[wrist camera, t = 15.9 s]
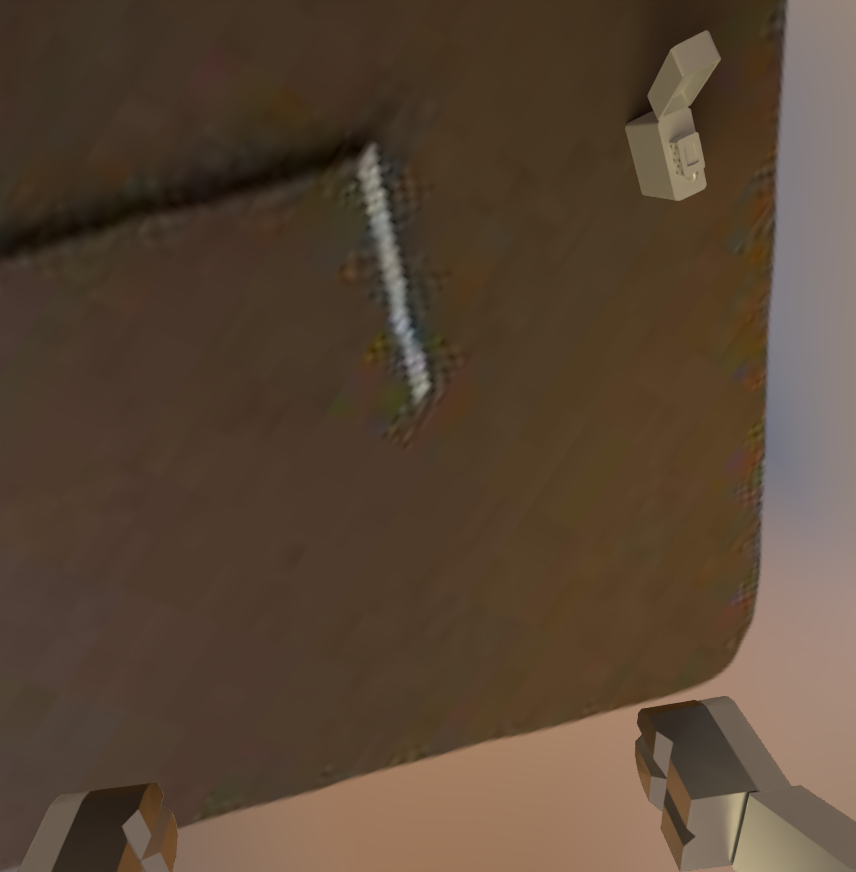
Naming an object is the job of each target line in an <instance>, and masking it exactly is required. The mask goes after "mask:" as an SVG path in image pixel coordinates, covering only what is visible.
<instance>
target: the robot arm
mask: <svg viewBox="0 0 856 872" xmlns="http://www.w3.org/2000/svg"><path fill="white" fill-rule="evenodd" d="M637 724H638V727H639V729H640V731H641V733H642V735H641V736H640V737H639V738H638V739H637V740H636V743H635V758H636V764H637V770H638V774H639V777H640V780H641V783H642V786H643V789H644V791H645V793H646V796H647V798H648V800H649V802H651V803H652V804H653V805H654V806H656V807H657V808H658V809H659V810H661V811H662V812H663V813H662V822H661V830H662V833H663V835H664V837H665V839H666V842H667V844H668V846H669V848H670V851H671V853H672V855H673V857H674V860H675V862H676V864H677V866H678V869H679V871H680V872H682V871H690V870H698V869H705V868H712V867H721V866H728V865H733V869H734V870H735V871H736V872H856V822H855V821H854V820H852V819H851V818H849V817H848V816H846V815H845V814H843V813H842V812H840V811H839V810H837V809H836V808H834V807H833V806H831V805H830V804H828V803H827V802H825V801H824V800H822V799H821V798H819V797H818V796H816V795H815V794H813V793H812V792H810V791H809V790H807V789H806V788H804V787H803V786H791V784H790V783H789V781H788V780H787V778H786V777H785V775H784V774H783V772H782V771H781V769H780V768H779V766H778V765H777V764H776V762H775V761H774V759H773V758H772V756H771V755H770V753H769V752H768V750H767V749H766V748H765V746H764V744H763V743H762V741H761V740H760V738H759V737H758V735H757V734H756V733H755V731H754V730H753V728H752V727H751V725H750V724H749V722H748V721H747V719H746V718H745V716H744V715H743V713H742V712H741V711H740V709H739V708H738V706H737V705H736V703H735V702H734V701H733V700H732V699H731V698H729V697H727V696H722V697H716V698H710V699H706V700H699V701H696V700H692V701H686V702H681V703H674V704H668V705H662V706H656V707H650V708H644V709H641V710H640V712H639V713H638V720H637ZM163 796H164V794H163V792H162V790H161V788H160V786H159V785H158V783H157V782H155V783H147V784H140V785H132V786H124V787H117V788H109V789H101V790H92V791H85V792H78V793H71V794H64V795H59V796H58V797H57V798H56V800H55V801H54V802H53V803H52V804H51V805H50V807H49V808H48V810H47V812H46V814H45V816H44V818H43V820H42V823H41V825H40V827H39V829H38V831H37V833H36V835H35V837H34V839H33V841H32V843H31V845H30V847H29V849H28V851H27V853H26V856H25V858H24V860H23V862H22V864H21V866H20V868H19V870H18V872H172V871H173V867H174V863H175V859H176V853H177V839H178V833H177V826H176V820H175V818H174V816H173V814H172V811H170V810H168V809H166V808H164V807H162V806H161V802H162V799H163Z"/></svg>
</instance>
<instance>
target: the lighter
mask: <svg viewBox="0 0 856 872" xmlns="http://www.w3.org/2000/svg"><path fill="white" fill-rule="evenodd" d="M720 60H721V58H720V56H719V53H718V51H717V49H716V47H715V44H714V42H713V40H712V38H711V35H710V33H709V31H704V32H702V33H700V34H698V35H696V36H694V37H692V38H690V39H688V40H686V41H684V42H682V43H680V44H678V45H676V46H674V47H673V48H672V49H671V50H670V51H669V53H668V55H667V57H666V59H665V61H664V63H663V65H662V67H661V69H660V71H659V73H658V75H657V77H656V79H655V81H654V83H653V85H652V87H651V89H650V91H649V93H648V95H647V97H648V99H649V102H650V104H651V106H652V108H653V112H649V113H647V114H645V115H643V116H641V117H639V118H637V119H635V120H633V121H631V122H629V123H627V124H626V127H625V130H626V134H627V138H628V142H629V145H630V149H631V153H632V157H633V161H634V165H635V169H636V172H637V176H638V180H639V184H640V188H641V192H642V194H644V195H648V196H653V197H659V198H665V199H671V200H677V201H680V200H682V199H684V198H686V197H688V196H691V195H693V194H695V193H697V192H699V191H701V190H703V189H704V188H705V186H706V185H707V184H706V179H705V175H704V170H703V168H704V167H705V163H704V158H703V153H702V148H701V143H700V139H699V134H698V133H697V132H695V127H694V122H693V118H692V113H691V109H689V108H687V107H688V106H690V105H691V104H692V102H693V101H694V99H695V98H696V96H697V95H698V93H699V92H700V90H701V89H702V87H703V86H704V84H705V83H706V81H707V80H708V78H709V77H710V75H711V73H712V72H713V70H714V69H715V67H716V66H717V64H718V63H719V61H720Z"/></svg>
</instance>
